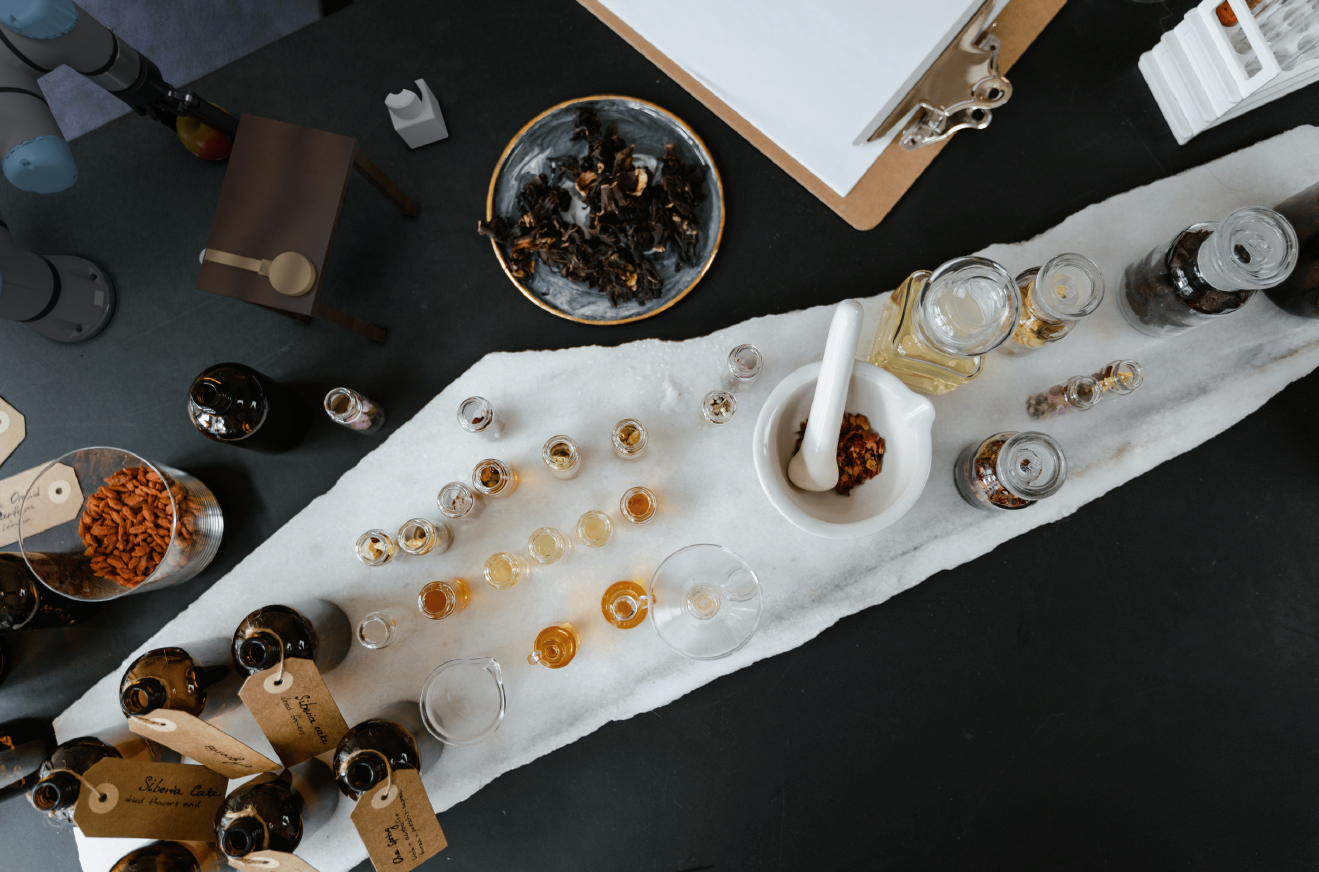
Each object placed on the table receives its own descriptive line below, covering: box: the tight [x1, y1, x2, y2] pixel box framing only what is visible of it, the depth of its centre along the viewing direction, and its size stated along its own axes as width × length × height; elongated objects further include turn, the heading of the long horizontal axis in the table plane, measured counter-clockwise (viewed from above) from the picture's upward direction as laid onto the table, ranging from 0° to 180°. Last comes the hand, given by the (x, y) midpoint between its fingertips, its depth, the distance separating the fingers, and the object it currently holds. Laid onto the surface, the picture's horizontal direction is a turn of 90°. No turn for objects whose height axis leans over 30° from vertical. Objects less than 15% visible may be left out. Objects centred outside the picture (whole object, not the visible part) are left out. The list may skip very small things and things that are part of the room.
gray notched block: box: [379, 71, 449, 150], centre depth 112 cm, size 7×7×12 cm
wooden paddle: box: [205, 248, 315, 297], centre depth 93 cm, size 16×6×1 cm, turn 76°
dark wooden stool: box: [194, 112, 419, 343], centre depth 106 cm, size 17×26×24 cm, turn 166°
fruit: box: [176, 101, 233, 161], centre depth 115 cm, size 10×9×8 cm
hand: (222, 141), depth 119 cm, fingers open, 11 cm apart
